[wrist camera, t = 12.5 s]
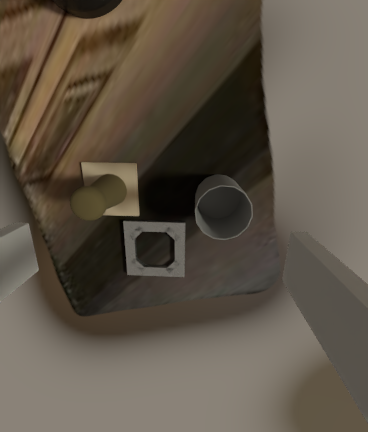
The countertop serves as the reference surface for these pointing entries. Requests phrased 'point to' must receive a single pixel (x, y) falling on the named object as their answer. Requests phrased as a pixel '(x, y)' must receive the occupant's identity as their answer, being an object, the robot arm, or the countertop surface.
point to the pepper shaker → (98, 197)
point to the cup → (222, 207)
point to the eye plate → (171, 227)
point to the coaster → (125, 173)
